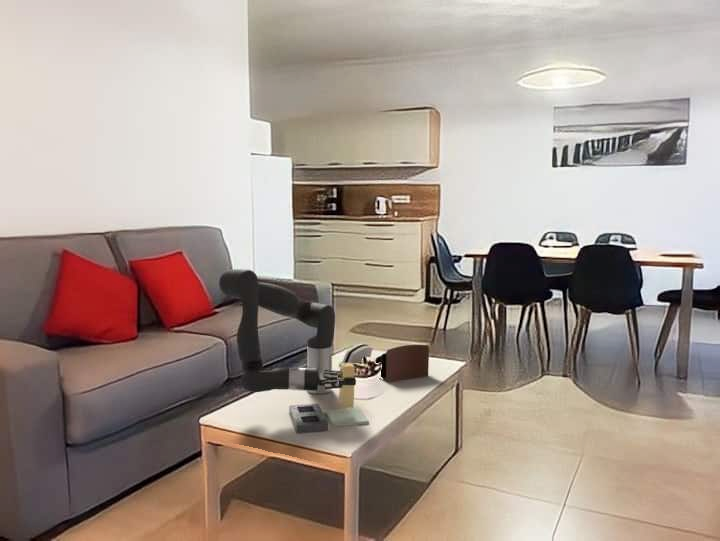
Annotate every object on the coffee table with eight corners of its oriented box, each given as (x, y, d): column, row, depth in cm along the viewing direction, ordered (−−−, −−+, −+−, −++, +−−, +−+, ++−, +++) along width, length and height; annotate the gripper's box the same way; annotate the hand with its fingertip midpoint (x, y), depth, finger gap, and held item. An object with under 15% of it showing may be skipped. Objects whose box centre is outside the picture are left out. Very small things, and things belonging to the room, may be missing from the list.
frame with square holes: (289, 412, 211) (289, 405, 210) (318, 410, 213) (318, 403, 213) (296, 433, 193) (296, 425, 193) (328, 430, 196) (328, 423, 195)
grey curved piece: (360, 358, 279) (367, 338, 276) (368, 363, 277) (375, 344, 274) (338, 366, 266) (344, 346, 262) (346, 372, 263) (353, 351, 260)
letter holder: (428, 376, 254) (429, 343, 252) (386, 382, 245) (387, 348, 243) (415, 370, 263) (416, 337, 261) (374, 375, 254) (375, 342, 252)
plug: (339, 404, 207) (340, 363, 205) (350, 403, 208) (352, 362, 206) (341, 408, 203) (342, 366, 201) (353, 407, 204) (354, 366, 202)
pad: (325, 413, 211) (325, 410, 210) (360, 411, 213) (360, 408, 213) (332, 426, 199) (332, 423, 199) (368, 424, 202) (368, 421, 202)
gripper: (303, 374, 196) (357, 374, 197) (304, 361, 210) (354, 362, 211) (302, 397, 197) (356, 397, 198) (303, 383, 211) (353, 383, 212)
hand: (355, 379), depth 204 cm, fingers closed on plug, 4 cm apart
